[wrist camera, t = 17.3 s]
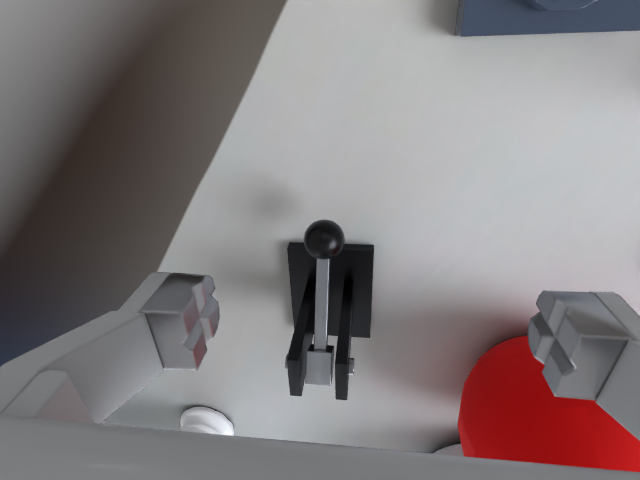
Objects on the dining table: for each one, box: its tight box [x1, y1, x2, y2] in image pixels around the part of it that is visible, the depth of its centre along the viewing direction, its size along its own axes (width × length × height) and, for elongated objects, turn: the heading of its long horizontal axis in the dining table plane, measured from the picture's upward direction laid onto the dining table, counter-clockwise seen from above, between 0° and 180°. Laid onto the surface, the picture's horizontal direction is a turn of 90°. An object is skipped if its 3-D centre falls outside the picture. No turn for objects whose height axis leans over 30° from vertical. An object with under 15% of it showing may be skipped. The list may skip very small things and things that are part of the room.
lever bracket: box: [285, 242, 374, 400], centre depth 37 cm, size 12×9×13 cm
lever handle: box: [304, 220, 345, 386], centre depth 33 cm, size 14×4×4 cm, turn 2°
